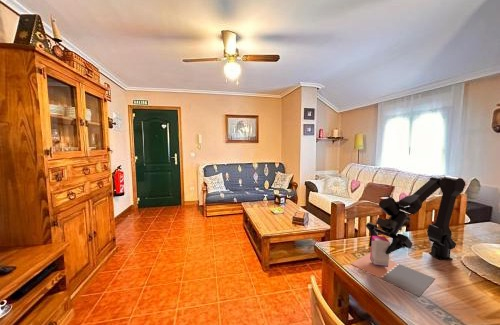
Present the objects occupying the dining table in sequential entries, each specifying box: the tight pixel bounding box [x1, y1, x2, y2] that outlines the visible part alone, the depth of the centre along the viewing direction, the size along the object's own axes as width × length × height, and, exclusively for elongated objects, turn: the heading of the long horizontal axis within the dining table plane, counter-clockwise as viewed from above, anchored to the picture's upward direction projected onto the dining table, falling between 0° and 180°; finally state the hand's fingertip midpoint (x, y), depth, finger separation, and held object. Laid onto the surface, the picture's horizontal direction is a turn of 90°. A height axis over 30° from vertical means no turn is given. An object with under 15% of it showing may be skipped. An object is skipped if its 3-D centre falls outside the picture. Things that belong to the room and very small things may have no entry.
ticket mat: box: [350, 251, 436, 298], centre depth 95 cm, size 26×18×1 cm
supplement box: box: [370, 235, 391, 267], centre depth 98 cm, size 6×6×12 cm
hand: (377, 249), depth 97 cm, fingers closed on supplement box, 8 cm apart
